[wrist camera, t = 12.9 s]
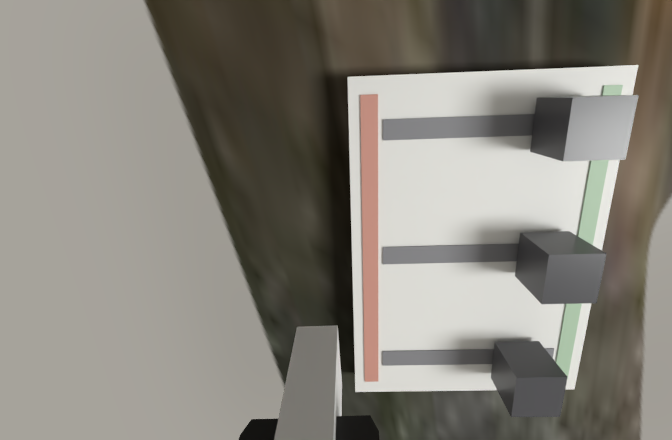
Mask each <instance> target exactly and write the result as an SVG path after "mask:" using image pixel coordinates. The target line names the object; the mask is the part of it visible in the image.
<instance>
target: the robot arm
mask: <svg viewBox="0 0 672 440" xmlns="http://www.w3.org/2000/svg"><path fill="white" fill-rule="evenodd" d="M341 412H342V377H341V364H340V350H339V336H338V325H336V326H309V327H297V330H296V335H295V340H294V345H293V350H292V355H291V359H290V364H289V369H288V374H287V379H286V384H285V389H284V394H283V399H282V404H281V409H280V413H279V418H278V419H253V420H251V421H250V422H249V424H248V425H247V427H246V428H245V429H244V431H243V432H242V433H241V435H240V437H239V440H379V431H378V429H377V427H376V425H375V424H374V422H373V420H372V418H371V416H370V415H369V416H341Z"/></svg>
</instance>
